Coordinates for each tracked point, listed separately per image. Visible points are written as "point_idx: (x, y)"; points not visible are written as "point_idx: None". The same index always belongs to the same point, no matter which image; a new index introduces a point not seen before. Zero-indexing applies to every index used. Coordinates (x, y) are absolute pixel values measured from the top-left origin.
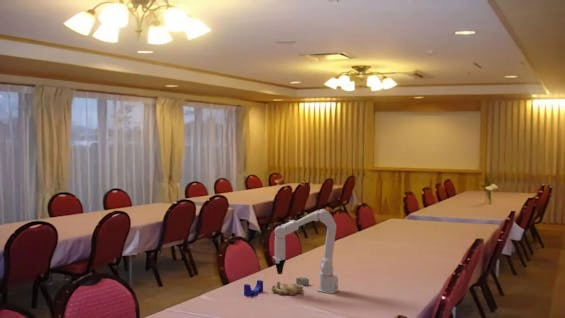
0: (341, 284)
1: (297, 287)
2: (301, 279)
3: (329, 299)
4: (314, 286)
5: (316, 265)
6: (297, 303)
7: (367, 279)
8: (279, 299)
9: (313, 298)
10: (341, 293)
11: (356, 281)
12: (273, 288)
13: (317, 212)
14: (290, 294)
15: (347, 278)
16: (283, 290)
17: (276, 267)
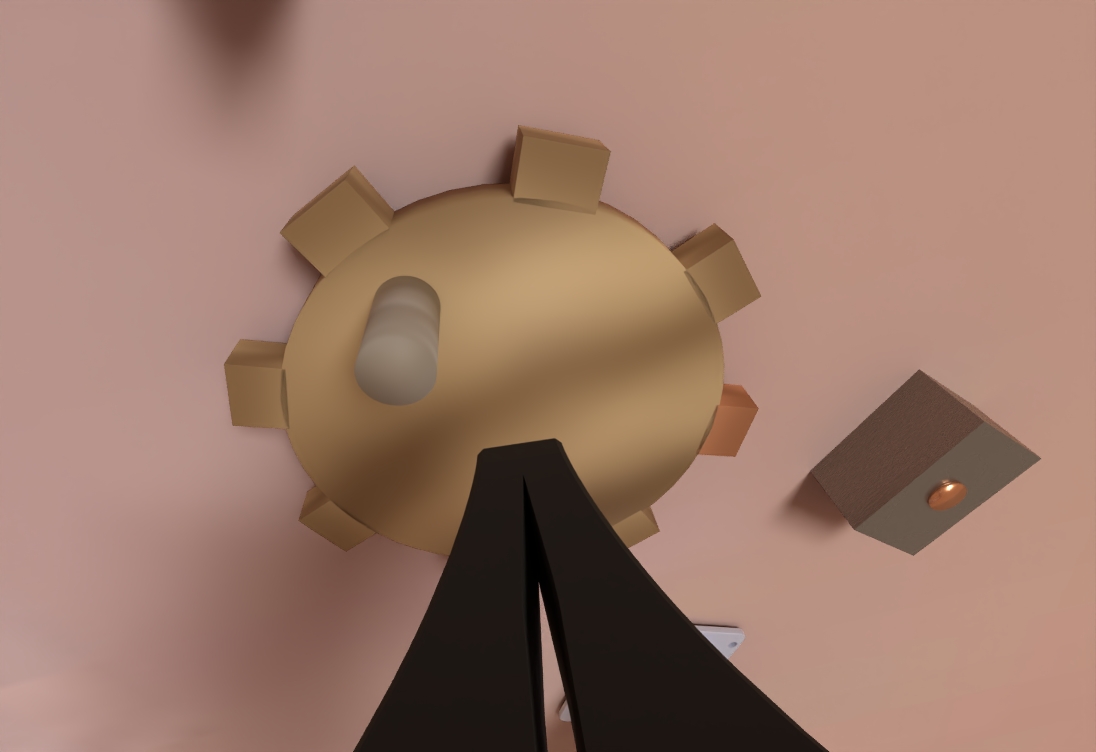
0: (868, 678)
1: None
2: (902, 496)
3: None
4: (799, 555)
5: None
6: (56, 620)
7: (992, 736)
8: (34, 414)
9: (347, 662)
10: None
11: (948, 713)
12: (353, 217)
13: None
14: (307, 492)
15: (1053, 659)
16: (314, 421)
17: (407, 658)
